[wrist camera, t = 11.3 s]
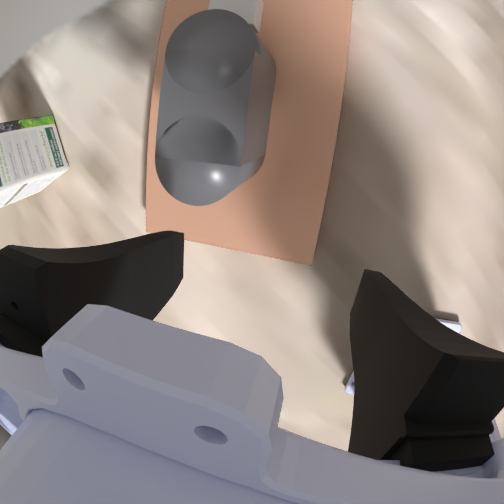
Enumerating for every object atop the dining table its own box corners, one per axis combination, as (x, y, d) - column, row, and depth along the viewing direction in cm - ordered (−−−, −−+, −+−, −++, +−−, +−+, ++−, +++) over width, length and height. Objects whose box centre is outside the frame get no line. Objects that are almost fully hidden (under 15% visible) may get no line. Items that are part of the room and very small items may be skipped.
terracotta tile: (312, 256, 21) (311, 265, 20) (155, 225, 23) (145, 232, 21) (351, 3, 14) (353, -6, 12) (178, -4, 15) (168, -10, 14)
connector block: (261, 186, 18) (235, 212, 13) (199, 177, 19) (153, 199, 14) (283, 16, 14) (266, -27, 8) (219, 14, 14) (179, -22, 9)
